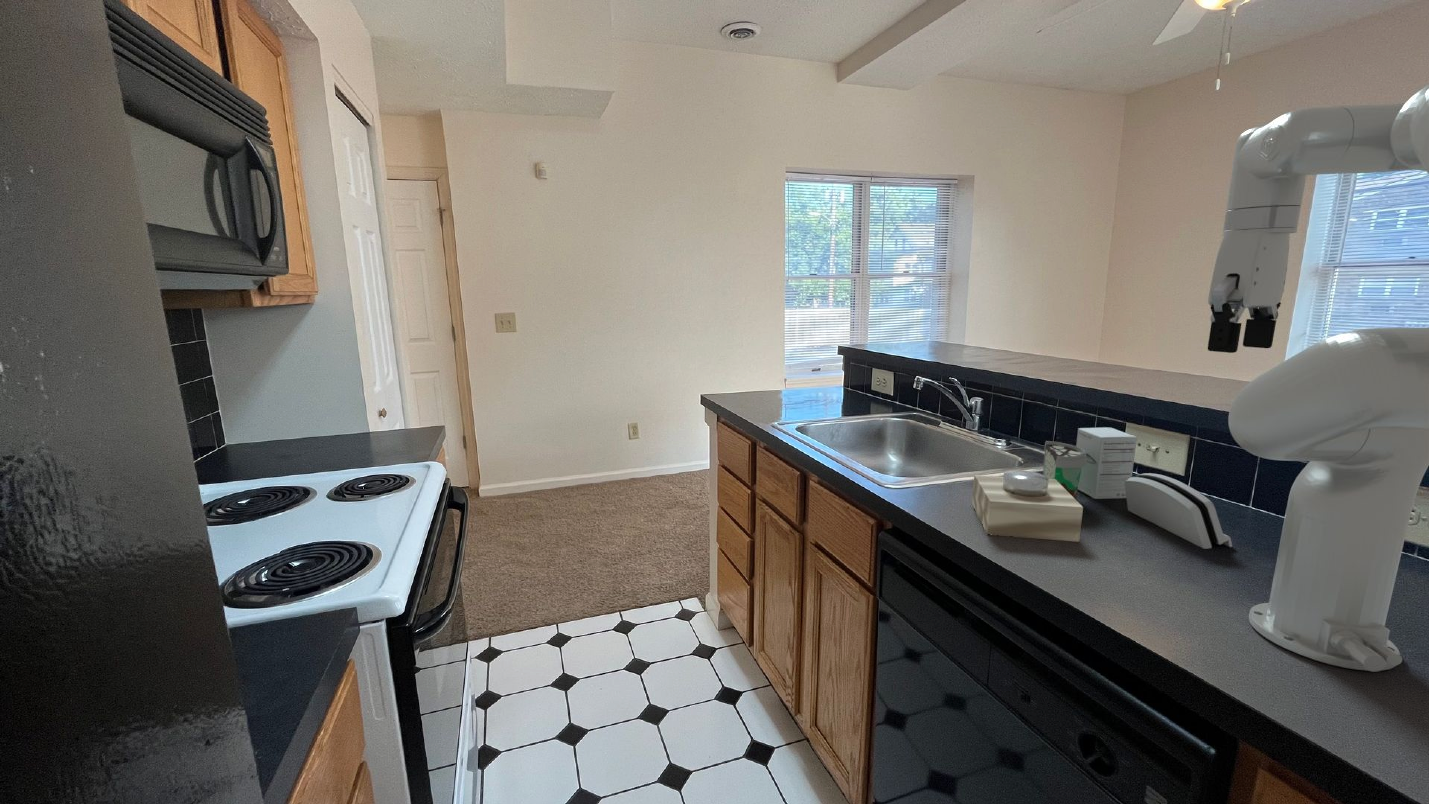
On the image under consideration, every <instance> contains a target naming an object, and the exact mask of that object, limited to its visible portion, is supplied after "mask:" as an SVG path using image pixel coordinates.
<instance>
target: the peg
mask: <svg viewBox="0 0 1429 804" xmlns="http://www.w3.org/2000/svg"><path fill="white" fill-rule="evenodd" d="M1002 477H1003V489H1004V490H1005V491H1007V492H1009V493H1011V494H1015V495H1019V496H1025V497H1042V496H1045V495H1047V491H1048V481H1049V479H1048V477H1046V476H1045V475H1043V473H1042V474H1041V473H1039V472H1035V471H1031V470H1030V471H1029V470H1022V469H1019V470H1018V469H1017V470H1015V469H1014V470H1007V471H1004V472H1003V476H1002Z"/></svg>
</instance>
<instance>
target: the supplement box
mask: <svg viewBox="0 0 1429 804" xmlns="http://www.w3.org/2000/svg"><path fill="white" fill-rule="evenodd" d="M1137 441H1138V437H1137V436H1135V435H1132V434H1130V433H1127V432H1124V431H1121V430H1118V429H1116V428H1113V427H1105V426H1103V427H1080V428H1079V427H1078V428H1077V437H1076V444H1075V446H1076V447H1079V448H1081V449H1083V450H1084V452H1085V454H1086V459H1087V464H1086V465H1085V466H1082V470H1081V475H1080V480H1079V485H1078V490H1079V491H1080V492H1082V493H1083V494H1086V495H1088V496H1090V497H1091V498H1092V499H1095V500H1103V499H1104V500H1106V499H1108V500H1109V499H1127V498H1126V490H1125V481H1126V480H1128V479H1129V478H1131V477H1133V469H1134V465H1135V464H1134V463H1135V455H1136V448H1137V443H1138V442H1137ZM1078 490H1077V491H1078Z"/></svg>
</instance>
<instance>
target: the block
mask: <svg viewBox="0 0 1429 804" xmlns="http://www.w3.org/2000/svg"><path fill="white" fill-rule="evenodd" d="M972 488H973V490H972V499H971V500H972V501H971V505H973V506H972V508H973V507H974V508H973V509H975V510H974V512H975V511H976V512H975V513H977V514H976V515H977V517H978V520H979V521H980V523H981V525H982V524H983V525H982V527H983V529H984V531H985V530H986V531H985V533H986V535H987V534H992V535H991V536H997V535H999V537H1010V536H1013V538H1023V539H1024V538H1027V539H1040V540H1052V541H1065V542H1078V543H1079V542H1080V538H1081V537H1080V536H1081V527H1082V520H1083V513H1084V512H1083V510H1084V507H1083V506H1082V504H1081V503H1080V502H1079V501H1077V500H1076V499H1075V498H1074V497H1073V496H1072V495H1071V494H1070V493H1069V492H1068V491H1067V490H1066V489H1065V488H1064V487H1063V486H1062V485H1061V484H1060V483H1059V482H1058V481H1057V480H1056V479H1049V481H1048V491H1047V495H1045V496H1042V497H1025V496H1019V495H1015V494H1011V493H1009V492H1007V491H1005V490H1004V489H1003V476H1000V475H982V474H980V475H977V474H974V475H973V487H972Z"/></svg>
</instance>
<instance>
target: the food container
mask: <svg viewBox="0 0 1429 804" xmlns="http://www.w3.org/2000/svg"><path fill="white" fill-rule="evenodd" d="M1044 442H1045V443H1044V448H1043V449H1044V457H1043V458H1044V459H1043V466H1042V467H1043V468H1042V469H1043V470H1042V475H1045V476H1046V477H1048V479H1056V480H1057V481H1058V482H1059V483H1060V484H1061V485H1062V486H1063V487H1064V488H1065V489H1066V490H1067V491H1068V492H1069V493H1070V494H1071V495H1072V496H1073V497H1074V498H1075V500H1076V498H1077V494H1078V485H1079V480H1080V475H1081V470H1082V466H1085V465H1086V464H1087V459H1086V454H1085V452H1084V450H1083V449H1081V448H1079V447H1076V445H1073V444H1069V443H1065V442H1064V443H1063V442H1060V441H1059V442H1058V441H1050V440H1045V441H1044Z"/></svg>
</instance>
